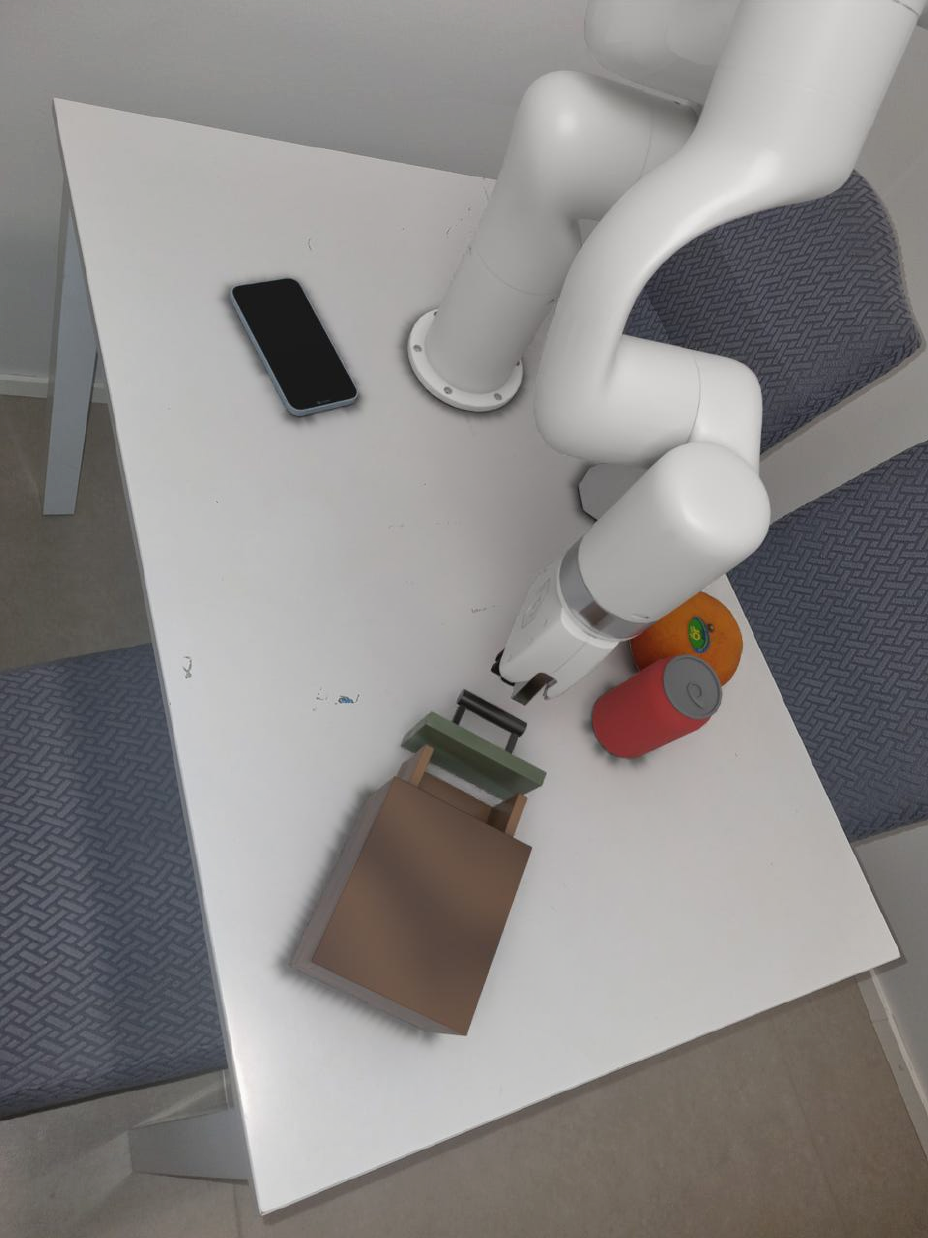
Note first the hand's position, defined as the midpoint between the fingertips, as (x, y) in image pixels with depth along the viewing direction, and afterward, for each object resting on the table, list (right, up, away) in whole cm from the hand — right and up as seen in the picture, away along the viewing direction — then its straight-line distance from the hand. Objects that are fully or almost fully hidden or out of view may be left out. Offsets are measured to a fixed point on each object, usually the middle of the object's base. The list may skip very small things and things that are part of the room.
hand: (508, 672), depth 74 cm
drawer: (-6, -11, -3) cm, 13 cm away
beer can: (+11, -5, +7) cm, 14 cm away
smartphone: (-21, +31, +11) cm, 38 cm away
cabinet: (-9, -18, -6) cm, 21 cm away
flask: (+11, +17, +17) cm, 27 cm away
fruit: (+16, +1, +12) cm, 20 cm away
